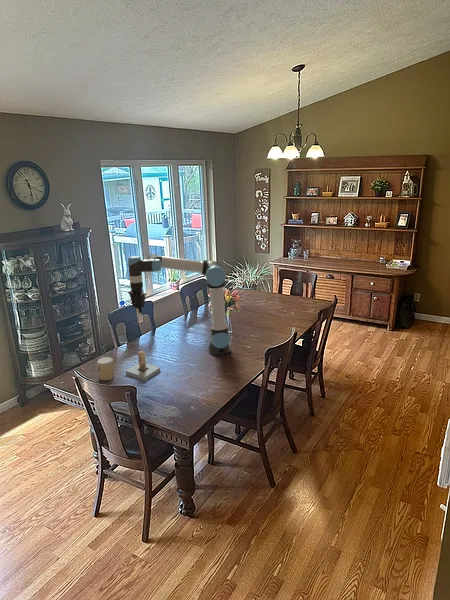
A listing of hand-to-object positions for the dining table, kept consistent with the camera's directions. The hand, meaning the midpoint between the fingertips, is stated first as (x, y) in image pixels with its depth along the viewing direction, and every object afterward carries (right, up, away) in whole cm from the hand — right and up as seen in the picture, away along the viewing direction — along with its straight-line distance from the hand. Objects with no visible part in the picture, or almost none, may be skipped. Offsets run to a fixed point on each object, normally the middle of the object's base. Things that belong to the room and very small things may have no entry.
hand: (139, 317), depth 256 cm
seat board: (+3, -35, -2) cm, 35 cm away
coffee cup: (-18, -37, -7) cm, 42 cm away
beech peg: (+3, -35, -2) cm, 35 cm away
